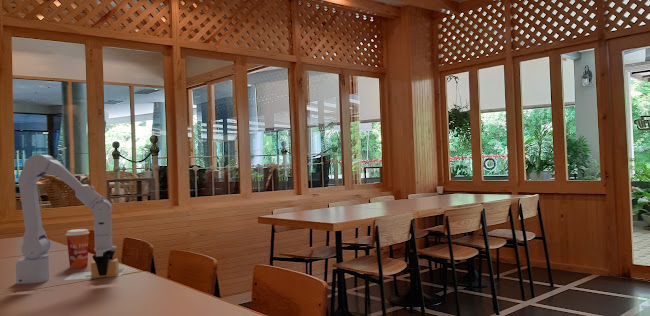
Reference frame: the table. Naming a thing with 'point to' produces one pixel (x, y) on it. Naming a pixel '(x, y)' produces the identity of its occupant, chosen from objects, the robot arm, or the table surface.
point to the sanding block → (111, 269)
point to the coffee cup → (78, 247)
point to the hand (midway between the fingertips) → (104, 273)
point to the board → (88, 275)
